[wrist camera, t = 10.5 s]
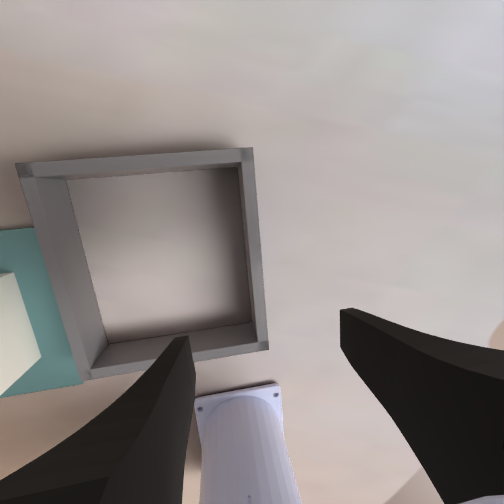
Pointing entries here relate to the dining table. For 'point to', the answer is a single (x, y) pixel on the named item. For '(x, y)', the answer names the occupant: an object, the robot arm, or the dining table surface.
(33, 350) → the box
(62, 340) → the mat
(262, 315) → the bin
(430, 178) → the dining table surface
